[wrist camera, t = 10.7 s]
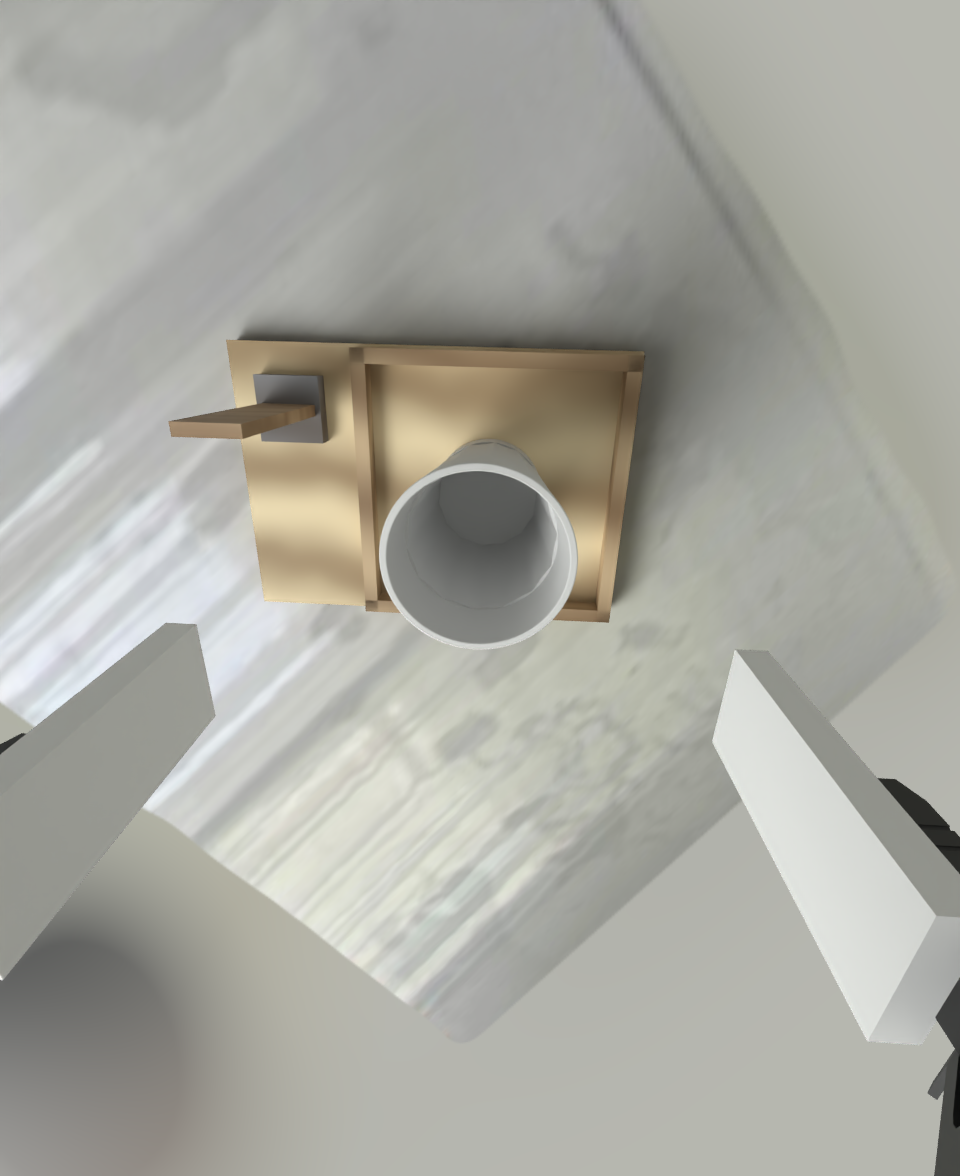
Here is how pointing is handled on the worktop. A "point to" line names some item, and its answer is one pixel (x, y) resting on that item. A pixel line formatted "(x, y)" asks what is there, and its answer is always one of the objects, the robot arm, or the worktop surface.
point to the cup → (479, 549)
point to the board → (417, 450)
